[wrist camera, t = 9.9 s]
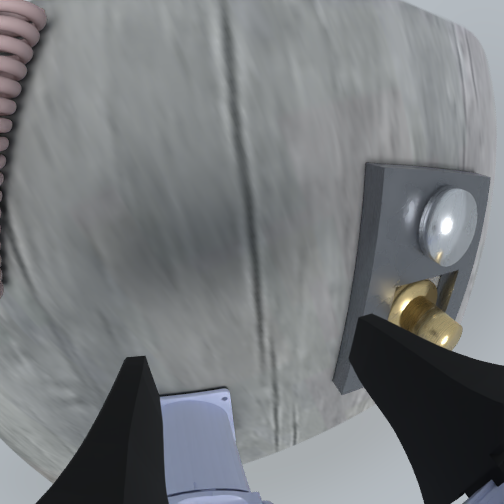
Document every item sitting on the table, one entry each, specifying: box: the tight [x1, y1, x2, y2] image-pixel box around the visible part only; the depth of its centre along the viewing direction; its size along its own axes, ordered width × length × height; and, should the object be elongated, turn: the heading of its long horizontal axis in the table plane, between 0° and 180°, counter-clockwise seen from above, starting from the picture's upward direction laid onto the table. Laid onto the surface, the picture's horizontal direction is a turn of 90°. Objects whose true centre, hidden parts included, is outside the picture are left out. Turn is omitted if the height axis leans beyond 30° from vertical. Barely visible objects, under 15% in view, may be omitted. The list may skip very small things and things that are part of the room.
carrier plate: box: [333, 163, 490, 395], centre depth 22 cm, size 20×14×4 cm
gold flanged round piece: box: [388, 279, 462, 351], centre depth 22 cm, size 6×6×6 cm
